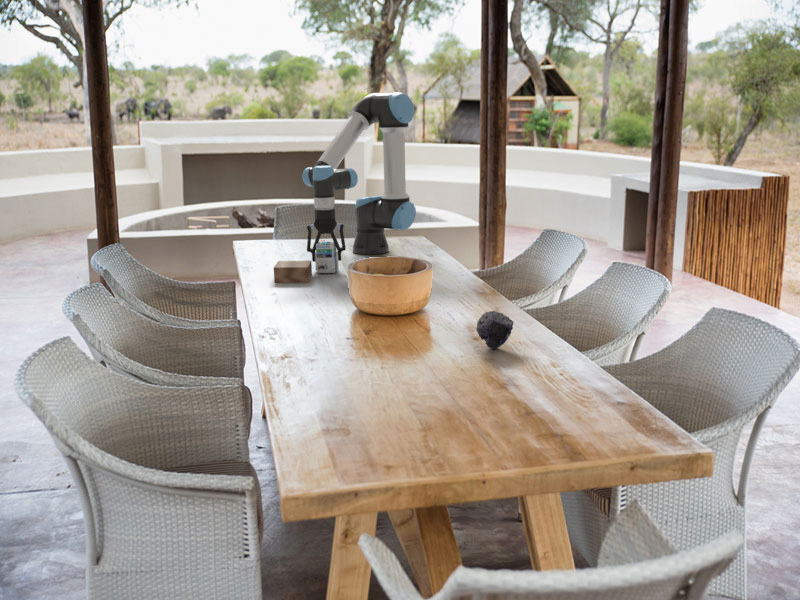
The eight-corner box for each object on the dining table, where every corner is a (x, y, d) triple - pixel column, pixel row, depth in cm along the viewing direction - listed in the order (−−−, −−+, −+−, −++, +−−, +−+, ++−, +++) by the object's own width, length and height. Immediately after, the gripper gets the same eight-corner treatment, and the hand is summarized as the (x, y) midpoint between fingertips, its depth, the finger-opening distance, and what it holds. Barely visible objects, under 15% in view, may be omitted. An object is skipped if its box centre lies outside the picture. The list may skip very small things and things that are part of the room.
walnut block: (311, 276, 305) (311, 260, 303) (308, 283, 293) (307, 267, 292) (279, 277, 305) (278, 260, 303) (274, 284, 293) (273, 267, 292)
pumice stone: (483, 355, 210) (483, 317, 207) (470, 347, 217) (471, 310, 214) (520, 351, 213) (521, 313, 211) (506, 343, 220) (507, 306, 218)
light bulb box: (334, 273, 307) (333, 244, 304) (316, 273, 307) (315, 244, 304) (337, 267, 317) (336, 239, 314) (319, 267, 317) (318, 239, 314)
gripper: (297, 210, 301) (300, 272, 307) (352, 209, 303) (354, 270, 309) (297, 207, 309) (300, 268, 314) (351, 206, 310) (353, 266, 316)
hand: (327, 269), depth 312 cm, fingers closed on light bulb box, 7 cm apart
